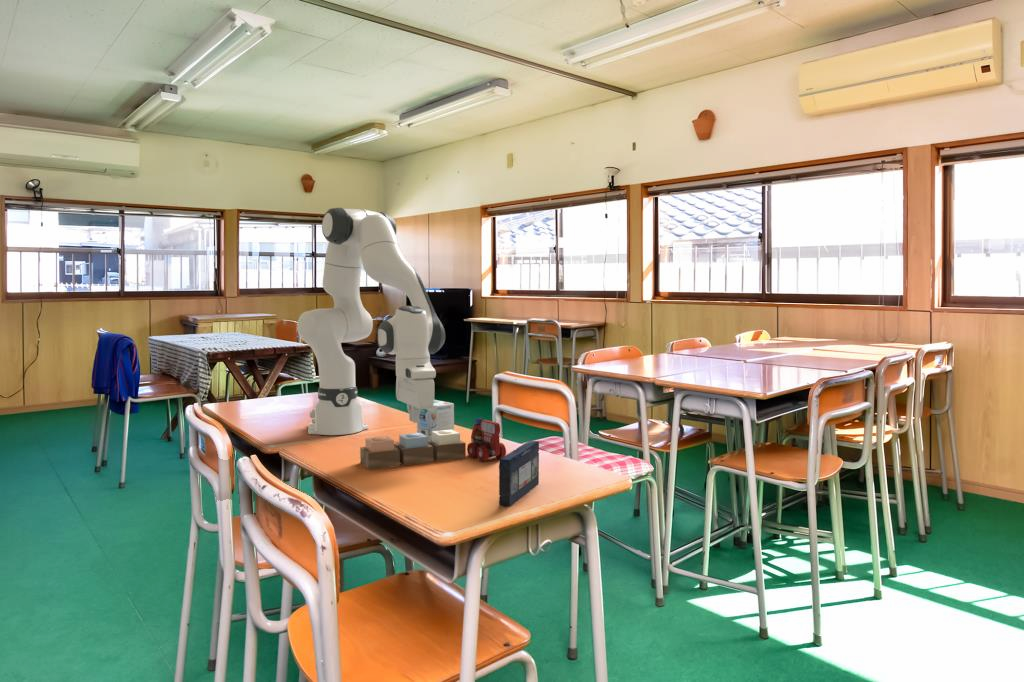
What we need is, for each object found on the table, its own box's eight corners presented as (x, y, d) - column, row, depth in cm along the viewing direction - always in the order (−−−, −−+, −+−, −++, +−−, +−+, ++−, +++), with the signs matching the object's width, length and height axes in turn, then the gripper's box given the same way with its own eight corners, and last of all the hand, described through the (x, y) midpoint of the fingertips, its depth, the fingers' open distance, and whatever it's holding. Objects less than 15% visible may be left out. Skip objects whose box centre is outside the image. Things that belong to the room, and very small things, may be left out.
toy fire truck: (484, 451, 188) (484, 414, 188) (509, 460, 178) (509, 421, 177) (462, 455, 185) (462, 416, 184) (487, 464, 174) (486, 424, 174)
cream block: (431, 446, 184) (431, 430, 183) (451, 443, 186) (451, 428, 186) (439, 450, 179) (439, 434, 178) (460, 448, 181) (459, 432, 181)
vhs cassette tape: (509, 507, 139) (509, 459, 138) (496, 506, 140) (496, 458, 140) (541, 484, 156) (541, 441, 155) (529, 483, 157) (528, 440, 156)
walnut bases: (360, 462, 176) (360, 447, 176) (454, 451, 188) (454, 437, 188) (368, 469, 169) (368, 453, 169) (465, 457, 181) (465, 442, 181)
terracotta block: (365, 453, 176) (365, 437, 175) (387, 451, 178) (387, 434, 178) (371, 458, 170) (371, 441, 170) (394, 455, 173) (393, 439, 173)
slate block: (399, 449, 180) (399, 433, 179) (420, 447, 182) (420, 431, 182) (406, 454, 175) (406, 437, 174) (427, 451, 177) (427, 435, 177)
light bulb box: (416, 436, 208) (415, 401, 208) (434, 433, 213) (433, 399, 212) (437, 442, 200) (436, 405, 200) (455, 438, 205) (454, 403, 204)
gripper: (389, 366, 185) (390, 417, 185) (414, 373, 166) (415, 429, 167) (411, 365, 187) (413, 414, 188) (438, 371, 169) (439, 426, 170)
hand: (414, 421), depth 178 cm, fingers closed
